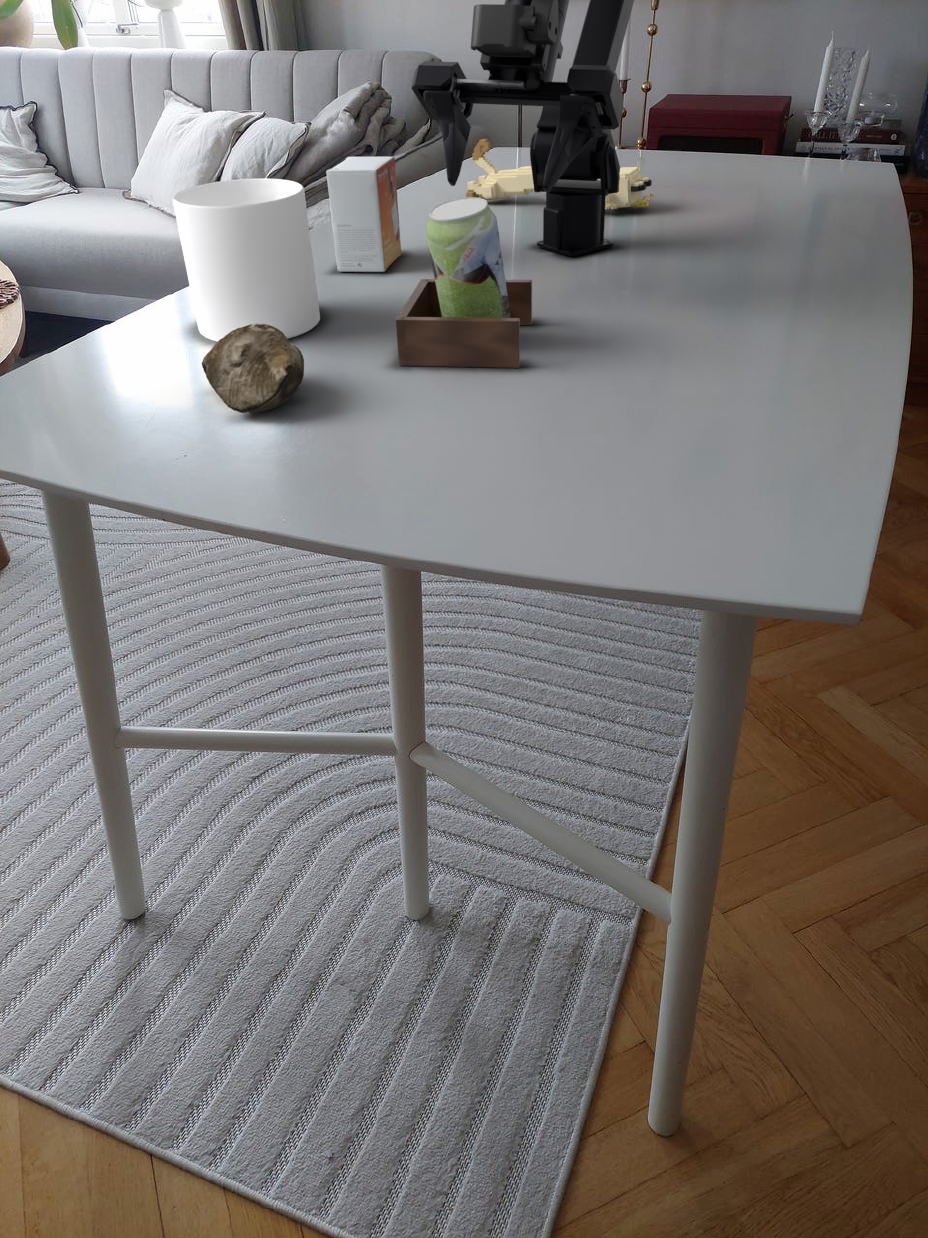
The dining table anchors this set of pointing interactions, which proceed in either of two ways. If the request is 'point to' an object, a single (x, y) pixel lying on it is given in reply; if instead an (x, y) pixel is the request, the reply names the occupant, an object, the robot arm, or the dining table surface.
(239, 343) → the fossilized seashell
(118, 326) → the dining table surface
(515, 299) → the case
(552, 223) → the robot arm
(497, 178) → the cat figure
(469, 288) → the beverage can
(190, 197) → the cup
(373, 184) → the small box
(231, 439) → the dining table surface
